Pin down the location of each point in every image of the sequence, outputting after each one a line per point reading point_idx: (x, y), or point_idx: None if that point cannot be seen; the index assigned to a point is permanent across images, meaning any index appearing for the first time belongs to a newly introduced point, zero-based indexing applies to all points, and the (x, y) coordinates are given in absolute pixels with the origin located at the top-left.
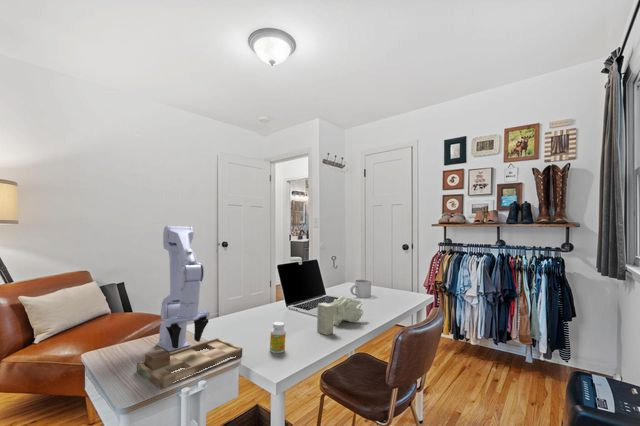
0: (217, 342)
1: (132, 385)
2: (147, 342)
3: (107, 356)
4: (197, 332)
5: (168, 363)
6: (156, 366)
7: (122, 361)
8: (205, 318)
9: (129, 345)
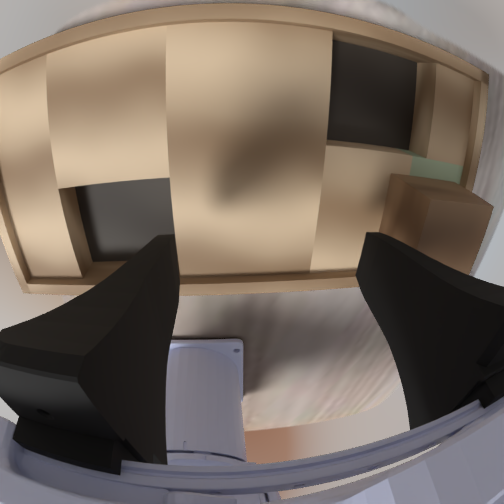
0: (31, 256)
1: (480, 178)
2: (248, 415)
3: (371, 387)
4: (160, 308)
5: (401, 177)
6: (452, 185)
7: (380, 350)
8: (29, 421)
9: (294, 416)
